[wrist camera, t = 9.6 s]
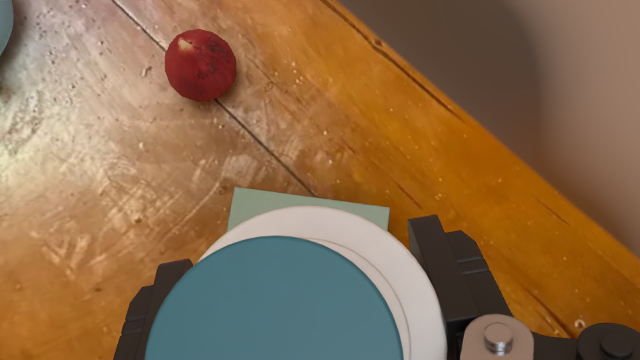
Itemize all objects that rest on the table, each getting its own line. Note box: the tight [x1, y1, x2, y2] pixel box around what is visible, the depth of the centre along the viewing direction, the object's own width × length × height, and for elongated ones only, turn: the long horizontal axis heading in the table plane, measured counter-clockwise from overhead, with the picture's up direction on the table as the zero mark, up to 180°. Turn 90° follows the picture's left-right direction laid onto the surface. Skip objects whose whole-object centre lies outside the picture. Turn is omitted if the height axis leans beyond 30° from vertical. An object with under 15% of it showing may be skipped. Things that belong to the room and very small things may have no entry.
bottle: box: [144, 205, 447, 360], centre depth 13 cm, size 6×6×13 cm
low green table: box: [226, 187, 390, 233], centre depth 44 cm, size 12×12×5 cm
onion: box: [165, 29, 236, 101], centre depth 47 cm, size 6×6×8 cm
